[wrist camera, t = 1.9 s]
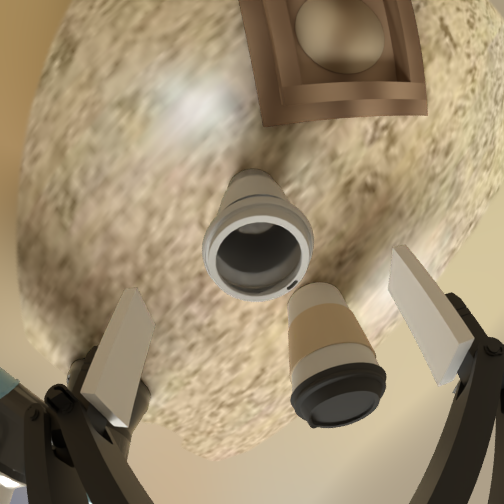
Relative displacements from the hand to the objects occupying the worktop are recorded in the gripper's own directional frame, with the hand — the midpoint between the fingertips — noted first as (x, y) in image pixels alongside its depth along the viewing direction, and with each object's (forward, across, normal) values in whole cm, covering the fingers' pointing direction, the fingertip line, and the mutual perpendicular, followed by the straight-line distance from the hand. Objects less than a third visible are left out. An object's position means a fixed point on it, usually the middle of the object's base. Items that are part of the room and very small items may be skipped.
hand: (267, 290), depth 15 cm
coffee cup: (+15, +5, -15) cm, 22 cm away
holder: (+15, +10, +14) cm, 23 cm away
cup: (+15, 0, 0) cm, 15 cm away
